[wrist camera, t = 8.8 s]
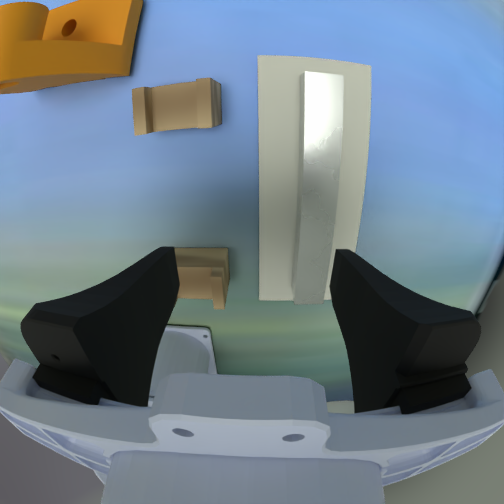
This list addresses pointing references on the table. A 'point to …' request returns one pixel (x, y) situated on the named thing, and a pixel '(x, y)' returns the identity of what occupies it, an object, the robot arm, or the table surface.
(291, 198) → the mat
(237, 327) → the table surface
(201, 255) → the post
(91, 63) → the bracket
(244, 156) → the table surface
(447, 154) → the table surface
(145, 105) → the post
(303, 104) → the rail
